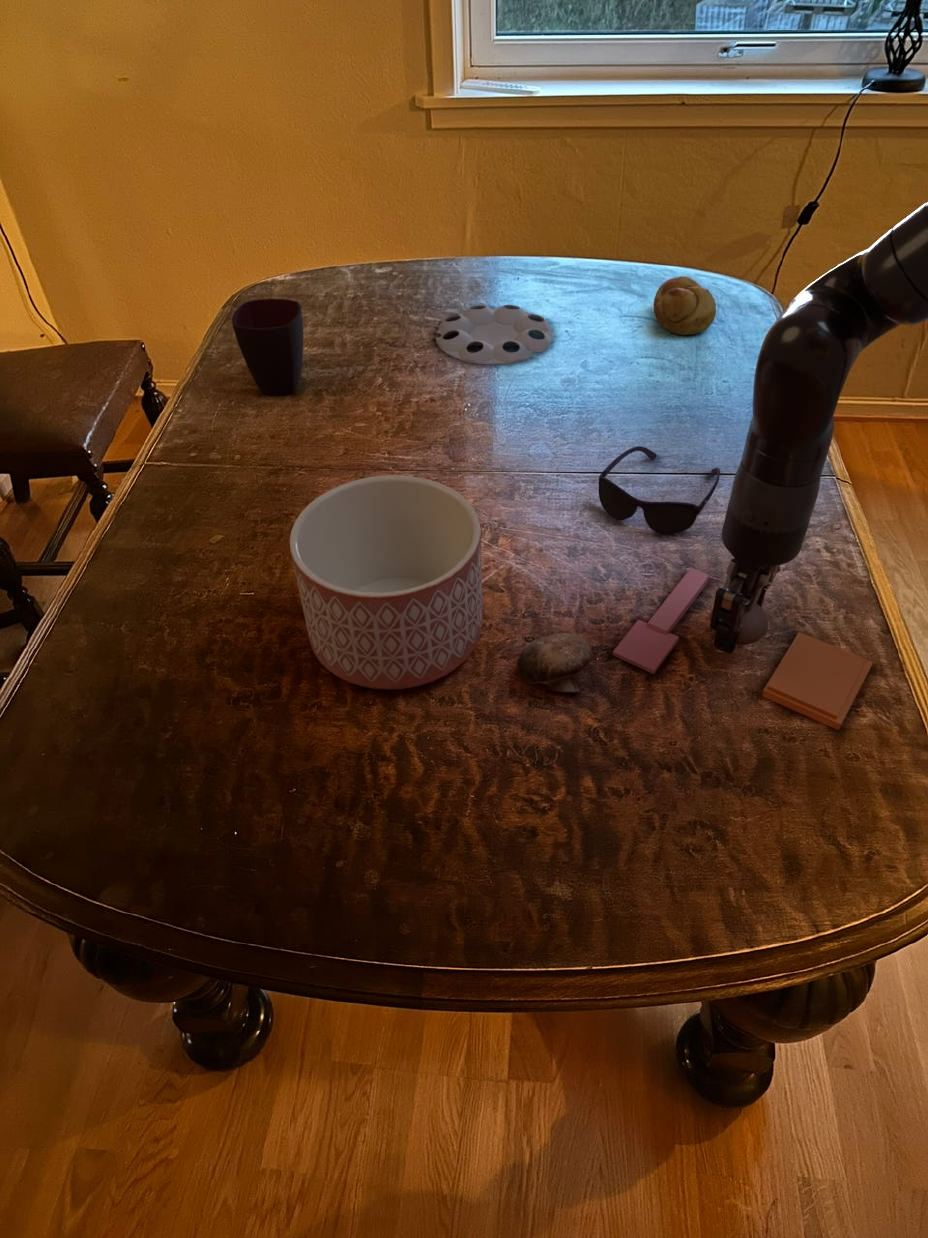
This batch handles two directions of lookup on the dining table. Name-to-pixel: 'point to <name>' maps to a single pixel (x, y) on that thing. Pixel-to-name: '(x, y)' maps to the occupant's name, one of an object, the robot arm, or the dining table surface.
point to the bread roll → (684, 306)
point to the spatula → (660, 626)
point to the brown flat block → (817, 680)
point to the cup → (271, 343)
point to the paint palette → (493, 334)
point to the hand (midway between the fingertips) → (736, 629)
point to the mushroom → (554, 661)
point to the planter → (390, 580)
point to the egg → (752, 626)
